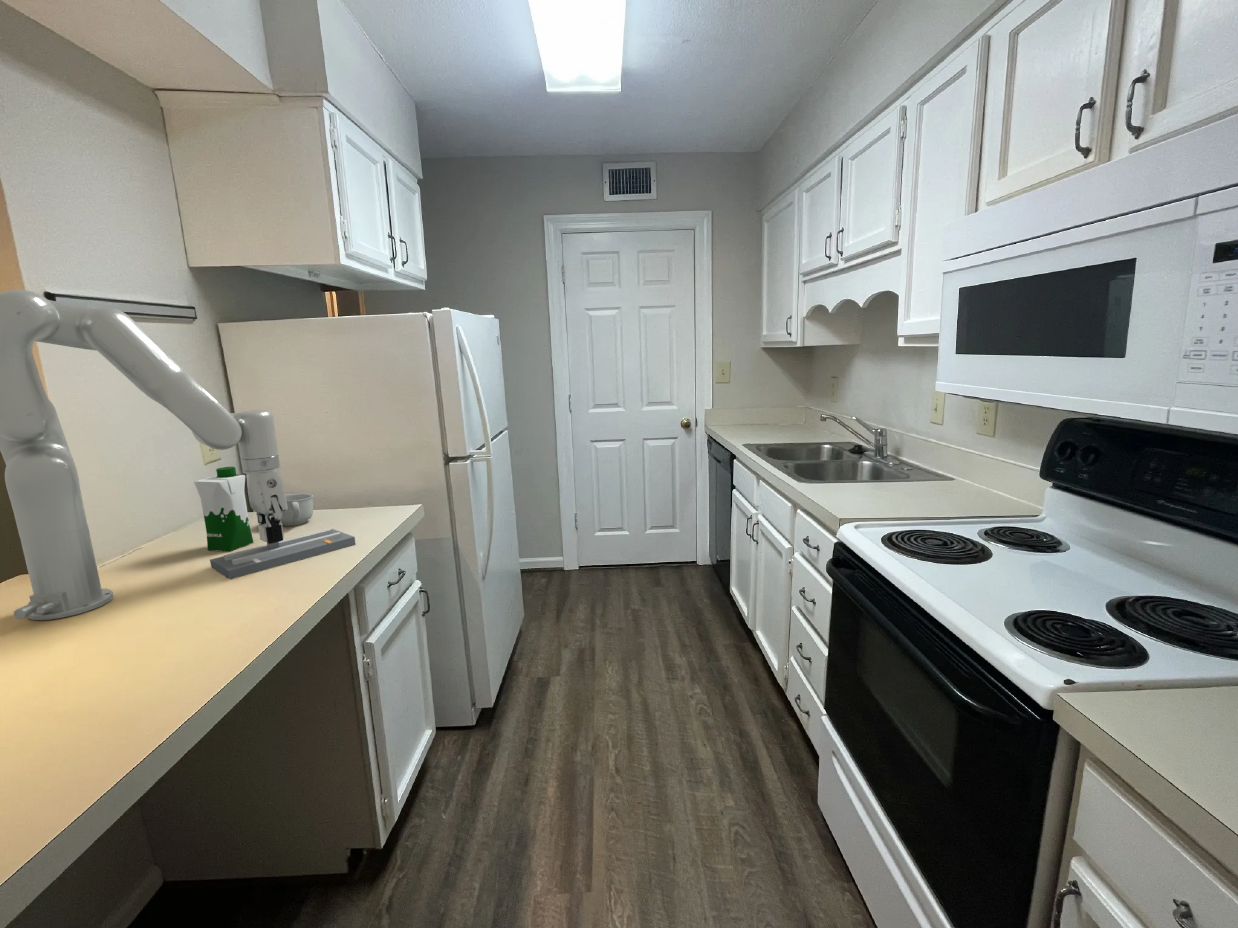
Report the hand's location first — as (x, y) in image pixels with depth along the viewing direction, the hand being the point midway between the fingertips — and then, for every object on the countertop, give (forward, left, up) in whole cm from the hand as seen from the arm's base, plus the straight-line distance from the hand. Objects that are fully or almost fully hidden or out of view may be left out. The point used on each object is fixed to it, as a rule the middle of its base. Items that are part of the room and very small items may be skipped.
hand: (272, 539), depth 139 cm
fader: (0, 0, -3) cm, 3 cm away
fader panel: (+2, -2, -5) cm, 5 cm away
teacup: (+30, +8, -5) cm, 31 cm away
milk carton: (+12, +16, -5) cm, 21 cm away
